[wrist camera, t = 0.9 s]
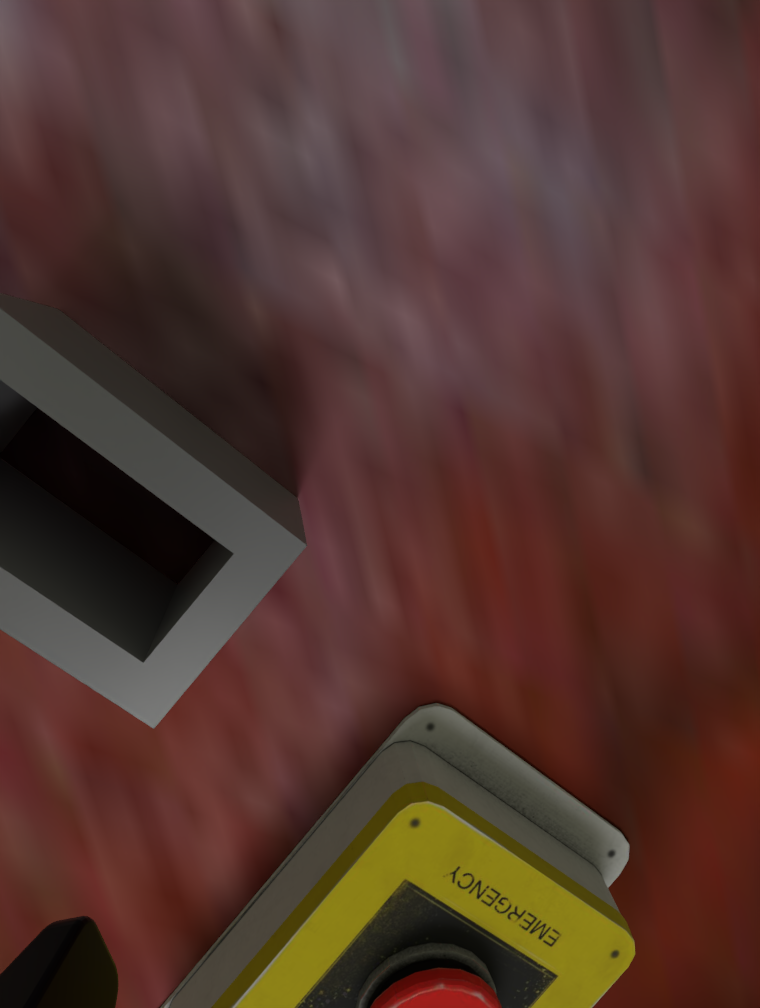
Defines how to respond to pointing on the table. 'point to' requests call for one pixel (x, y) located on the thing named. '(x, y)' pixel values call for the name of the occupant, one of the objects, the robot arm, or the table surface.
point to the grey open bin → (102, 560)
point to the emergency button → (432, 891)
